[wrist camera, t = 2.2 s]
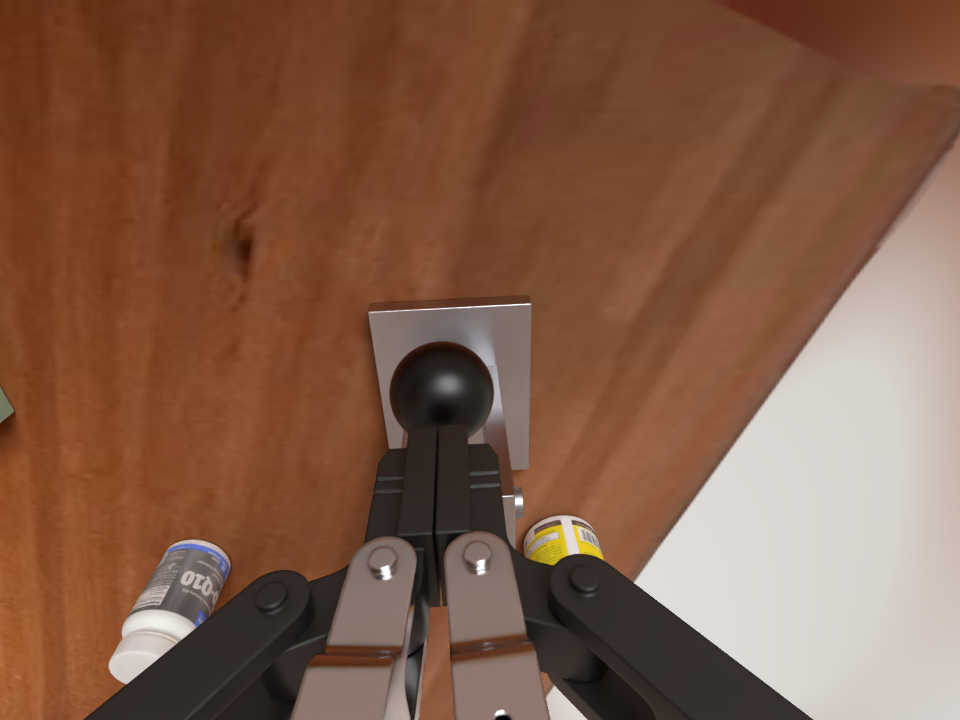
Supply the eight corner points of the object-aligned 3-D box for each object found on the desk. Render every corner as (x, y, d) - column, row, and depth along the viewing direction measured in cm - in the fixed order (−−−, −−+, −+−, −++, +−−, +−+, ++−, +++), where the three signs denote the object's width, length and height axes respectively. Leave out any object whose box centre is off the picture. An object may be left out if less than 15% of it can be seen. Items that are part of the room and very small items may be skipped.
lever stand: (370, 302, 30) (328, 432, 20) (529, 294, 30) (568, 418, 20) (394, 465, 36) (372, 628, 26) (527, 457, 36) (556, 616, 26)
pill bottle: (245, 569, 41) (200, 681, 33) (193, 587, 41) (137, 701, 34) (205, 529, 38) (148, 641, 31) (151, 549, 39) (82, 662, 32)
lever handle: (383, 322, 16) (378, 416, 14) (490, 316, 16) (498, 410, 14) (425, 486, 27) (425, 552, 25) (489, 482, 27) (494, 547, 25)
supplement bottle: (516, 559, 41) (533, 697, 33) (530, 508, 39) (554, 643, 30) (585, 564, 42) (620, 701, 33) (604, 514, 39) (648, 648, 31)
